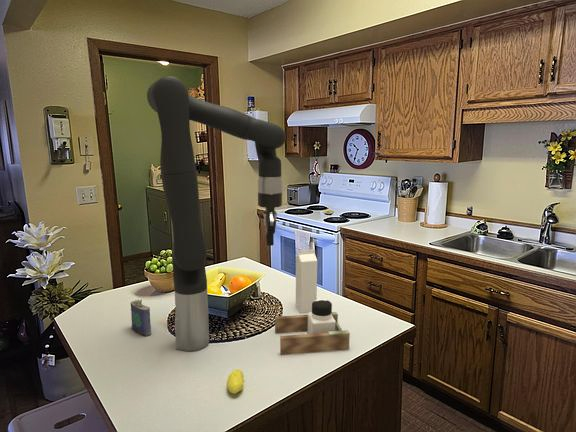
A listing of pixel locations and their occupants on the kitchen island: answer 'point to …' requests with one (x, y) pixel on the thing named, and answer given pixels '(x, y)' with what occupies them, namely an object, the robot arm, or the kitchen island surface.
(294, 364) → the kitchen island surface
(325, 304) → the medicine bottle
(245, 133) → the robot arm
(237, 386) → the lemon
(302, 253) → the milk
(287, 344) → the bay
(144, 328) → the flask
